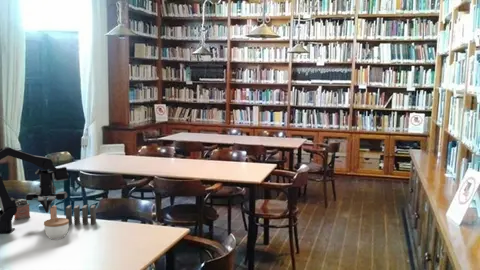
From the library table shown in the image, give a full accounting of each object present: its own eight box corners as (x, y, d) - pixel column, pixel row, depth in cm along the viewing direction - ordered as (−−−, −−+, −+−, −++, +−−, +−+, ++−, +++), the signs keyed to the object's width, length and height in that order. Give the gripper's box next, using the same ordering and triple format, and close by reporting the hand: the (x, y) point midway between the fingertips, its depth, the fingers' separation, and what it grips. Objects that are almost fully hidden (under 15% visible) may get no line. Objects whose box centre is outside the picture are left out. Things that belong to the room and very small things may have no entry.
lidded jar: (74, 234, 213) (73, 215, 212) (60, 242, 202) (59, 221, 201) (53, 233, 215) (53, 213, 214) (39, 240, 204) (38, 220, 203)
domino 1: (54, 225, 226) (53, 208, 225) (50, 225, 226) (50, 208, 225) (57, 222, 231) (56, 205, 230) (53, 222, 231) (53, 205, 230)
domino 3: (77, 225, 227) (77, 207, 226) (74, 225, 227) (73, 207, 226) (80, 222, 232) (79, 205, 231) (76, 222, 232) (76, 205, 231)
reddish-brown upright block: (28, 216, 242) (27, 198, 241) (31, 217, 240) (30, 199, 239) (13, 219, 236) (12, 201, 235) (16, 220, 234) (15, 202, 233)
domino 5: (93, 224, 228) (93, 207, 227) (90, 224, 228) (90, 207, 227) (95, 221, 233) (95, 204, 232) (92, 222, 233) (92, 205, 232)
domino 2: (69, 225, 227) (68, 207, 226) (66, 225, 227) (65, 208, 226) (72, 222, 232) (71, 205, 231) (68, 222, 232) (68, 205, 231)
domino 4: (85, 225, 228) (85, 207, 227) (82, 225, 227) (82, 207, 227) (88, 222, 233) (87, 205, 232) (84, 222, 232) (84, 205, 232)
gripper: (69, 178, 235) (70, 208, 237) (32, 179, 233) (33, 208, 234) (63, 183, 224) (64, 213, 225) (24, 183, 222) (25, 214, 223)
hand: (47, 212), depth 227 cm, fingers closed
